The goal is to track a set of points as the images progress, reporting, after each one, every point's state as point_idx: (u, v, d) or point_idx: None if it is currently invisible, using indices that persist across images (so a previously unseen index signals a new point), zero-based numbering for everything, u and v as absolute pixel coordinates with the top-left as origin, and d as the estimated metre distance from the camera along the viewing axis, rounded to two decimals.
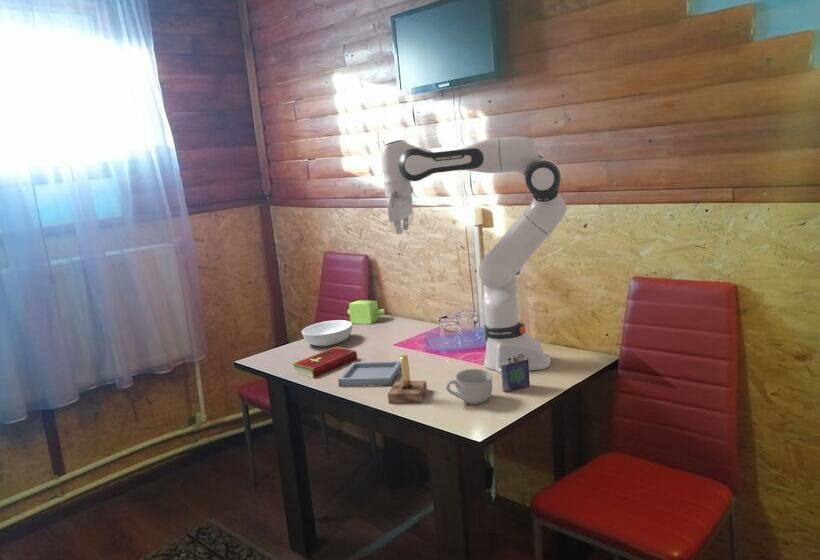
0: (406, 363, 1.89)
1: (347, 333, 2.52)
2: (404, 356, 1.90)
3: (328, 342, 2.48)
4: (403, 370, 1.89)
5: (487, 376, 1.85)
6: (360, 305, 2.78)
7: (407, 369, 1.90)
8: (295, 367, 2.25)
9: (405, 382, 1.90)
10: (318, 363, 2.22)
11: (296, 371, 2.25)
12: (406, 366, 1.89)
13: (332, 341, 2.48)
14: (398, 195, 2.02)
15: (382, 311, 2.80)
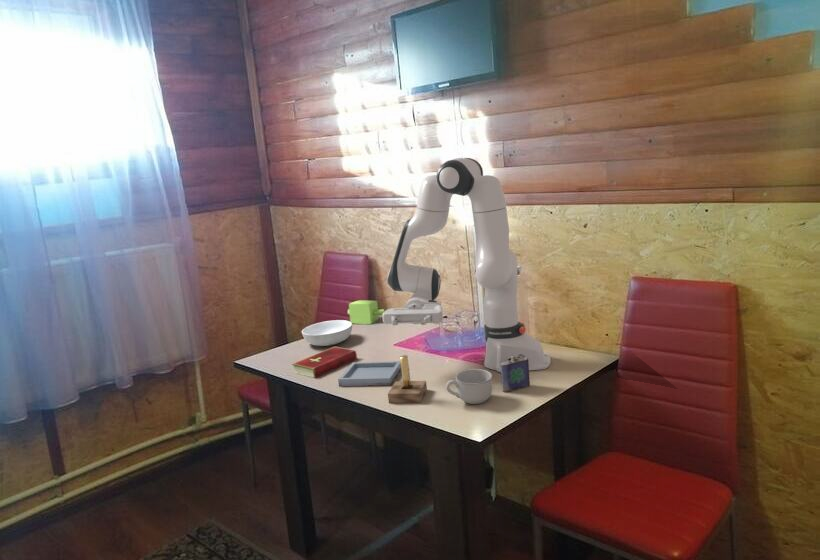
0: (406, 363, 1.89)
1: (347, 333, 2.52)
2: (404, 356, 1.90)
3: (328, 342, 2.48)
4: (403, 370, 1.89)
5: (487, 376, 1.85)
6: (360, 305, 2.78)
7: (407, 369, 1.90)
8: (295, 367, 2.24)
9: (405, 382, 1.90)
10: (318, 363, 2.22)
11: (296, 371, 2.24)
12: (406, 366, 1.89)
13: (332, 341, 2.48)
14: None
15: (382, 311, 2.80)
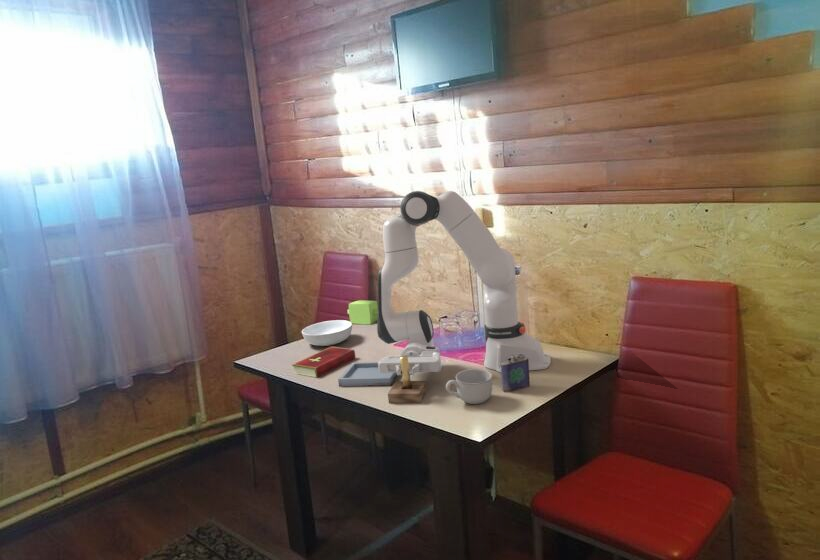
0: (406, 363, 1.89)
1: (347, 333, 2.52)
2: (404, 356, 1.90)
3: (328, 342, 2.48)
4: (403, 370, 1.89)
5: (487, 376, 1.85)
6: (360, 305, 2.78)
7: (407, 369, 1.90)
8: (295, 368, 2.24)
9: (405, 382, 1.90)
10: (319, 363, 2.22)
11: (296, 372, 2.24)
12: (406, 366, 1.89)
13: (332, 341, 2.48)
14: None
15: None
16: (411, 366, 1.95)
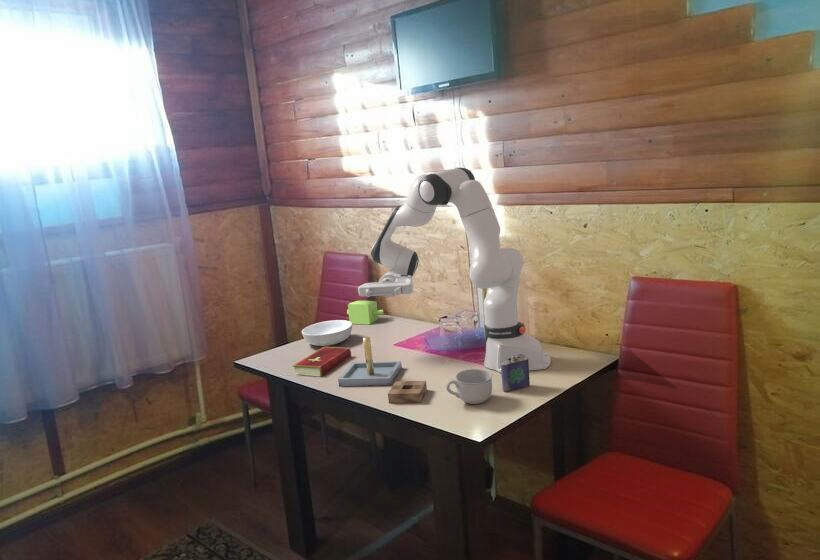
0: (368, 344, 2.09)
1: (347, 333, 2.52)
2: (367, 337, 2.10)
3: (328, 342, 2.48)
4: (366, 350, 2.09)
5: (487, 376, 1.85)
6: (359, 305, 2.78)
7: (369, 349, 2.09)
8: (296, 368, 2.23)
9: (368, 361, 2.10)
10: (321, 362, 2.23)
11: (297, 372, 2.23)
12: (368, 346, 2.09)
13: (332, 341, 2.48)
14: None
15: (381, 312, 2.79)
16: (387, 290, 2.24)
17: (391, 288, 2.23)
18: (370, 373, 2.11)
